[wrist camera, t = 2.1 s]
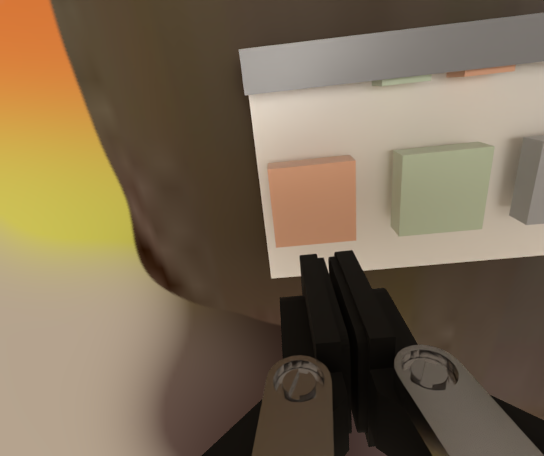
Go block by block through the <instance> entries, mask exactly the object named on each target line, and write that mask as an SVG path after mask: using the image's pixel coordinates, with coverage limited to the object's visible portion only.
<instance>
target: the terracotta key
mask: <svg viewBox="0 0 544 456" xmlns="http://www.w3.org/2000/svg"><path fill="white" fill-rule="evenodd" d="M267 171H268V180H269V189H270V198H271V207H272V216H273V224H274V233H275V242H276V248H278V247H290V246H301V245H312V244H323V243H334V242H345V241H356V160H355V159H354V158H353V157H352V156H350V155H343V156H334V157H324V158H314V159H304V160H295V161H285V162H275V163H268V168H267Z"/></svg>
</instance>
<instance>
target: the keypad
mask: <svg viewBox="0 0 544 456" xmlns="http://www.w3.org/2000/svg"><path fill="white" fill-rule="evenodd" d="M239 55H240V62H241V70H242V78H243V86H244V94H245V95H249V102H250V110H251V118H252V126H253V134H254V142H255V150H256V158H257V167H258V175H259V183H260V191H261V199H262V207H263V215H264V223H265V231H266V239H267V247H268V255H269V263H270V272H271V279H272V278H284V277H295V276H301V270H300V257H299V256H300V255H307V254H317V257H318V258H323V257H324V260H325V263H326V266H327V269H328V273H329V264H328V258H329V257H333V256H334V253H335V252H338V251H348V250H353V252H354V254H355V256H356V258H357V260H358V262H359V264H360V266H361V268H362V270H363V271H365V270H377V269H389V268H400V267H412V266H424V265H435V264H447V263H458V262H470V261H482V260H493V259H505V258H517V257H528V256H540V255H544V224H533V225H525V224H523V223H522V222H520V221H518V220H516V219H515V218H513V217H511V216H509V213H510V208H511V202H512V197H513V191H514V186H515V181H516V175H517V170H518V164H519V159H520V154H521V148H522V143H523V137H527V136H537V135H544V13H536V14H528V15H520V16H512V17H503V18H495V19H487V20H478V21H470V22H462V23H454V24H445V25H437V26H429V27H421V28H412V29H404V30H396V31H387V32H379V33H371V34H363V35H354V36H346V37H338V38H329V39H321V40H313V41H305V42H296V43H288V44H280V45H272V46H263V47H255V48H247V49H239ZM469 142H482V143H485V144H489V145H492V146H495V148H494V155H493V161H492V168H491V174H490V181H489V187H488V194H487V200H486V207H485V213H484V220H483V226H482V229H478V230H467V231H456V232H444V233H433V234H422V235H411V236H400V237H399V236H398V235H397V234H396V232H395V231H394V230H393V229H392V227H391V201H392V173H393V150H401V149H411V148H421V147H431V146H440V145H450V144H460V143H469ZM343 155H350V156H352V157H353V158H354V159H355V160H356V241H345V242H334V243H323V244H312V245H301V246H290V247H278V248H276V242H275V233H274V224H273V216H272V207H271V198H270V189H269V180H268V171H267V168H268V163H275V162H285V161H295V160H304V159H314V158H324V157H334V156H343Z"/></svg>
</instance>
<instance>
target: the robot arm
mask: <svg viewBox="0 0 544 456" xmlns="http://www.w3.org/2000/svg"><path fill="white" fill-rule="evenodd" d="M299 257H300V270H301V282H302V294H303V296H292V297H282V298H280V312H281V331H282V351H283V359H282V360H280V361H279V362H277V363H276V364H275V365H274V366H273V367H272V368H271V369H270V371H269V373H268V376H267V378H266V384H265V389H264V394H263V399H262V400H261V401H260V402H259V403H258V404H257V405H255V406H254V407H253V408H252V409H251V410H250V411H249V412H248V413H247V414H246V415H245V416H244V417H243V418H242V419H241V420H239V421H238V422H237V423H236V424H235V425H234V426H233V427H232V428H231V429H230V430H229V431H228V432H227V433H226V434H224V435H223V436H222V437H221V438H220V439H219V440H218V441H217V442H216V443H215V444H214V445H213V446H212V447H210V448H209V449H208V450H207V451H206V452H205V453H204V454H203V455H202V456H345V454H346V453H347V452H348V451H349V433H351V432H352V430H351V429H352V426H351V410H352V414H353V418H354V422H355V426H356V429H357V432H358V433H361V432H365V435H366V439H367V442H368V446H369V447H372V446H376V448H377V449H379V450H380V451H382V452H383V453H385V454H386V455H387V456H544V420H542V419H540V418H538V417H535V416H533V415H531V414H529V413H527V412H525V411H523V410H521V409H519V408H516V407H514V406H512V405H510V404H508V403H506V402H504V401H502V400H500V399H498V398H495V397H493V396H491V395H489V394H488V393H487V392H486V390H485V389H484V388H483V387H482V386H481V385H480V384H479V383H478V382H477V380H476V379H475V378H474V377H473V376H472V375H471V374H470V373H469V372H468V370H467V369H466V368H465V367H464V366H463V365H462V364H461V363H460V362H459V361H458V360H457V359H456V358H455V357H454V356H452V355H451V354H449V353H447V352H446V351H444V350H442V349H439V348H436V347H433V346H427V345H418V344H417V343H416V341H415V339H414V337H413V336H412V334H411V332H410V330H409V328H408V327H407V325H406V323H405V321H404V320H403V318H402V316H401V314H400V313H399V311H398V309H397V307H396V306H395V304H394V302H393V300H392V299H391V297H390V295H389V293H388V292H387V290H386V289H385V288H378V289H372V288H371V286H370V284H369V282H368V280H367V278H366V276H365V274H364V272H363V270H362V268H361V266H360V264H359V262H358V260H357V258H356V256H355V254H354V252H353V250H348V251H338V252H335V253H334V256H333V257H329V258H328V264H329V273H328V269H327V266H326V263H325V260H324V257H323V258H318V257H317V254H307V255H300V256H299Z"/></svg>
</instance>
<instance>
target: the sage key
mask: <svg viewBox="0 0 544 456" xmlns="http://www.w3.org/2000/svg"><path fill="white" fill-rule="evenodd" d="M494 148H495V146H492V145H489V144H485V143H482V142H469V143H460V144H450V145H440V146H431V147H421V148H411V149H401V150H393V173H392V201H391V227H392V229H393V230H394V231H395V232H396V234H397V235H398V236H399V237H400V236H411V235H422V234H433V233H444V232H456V231H467V230H478V229H482V226H483V220H484V213H485V207H486V200H487V194H488V187H489V181H490V174H491V168H492V161H493V155H494Z"/></svg>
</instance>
